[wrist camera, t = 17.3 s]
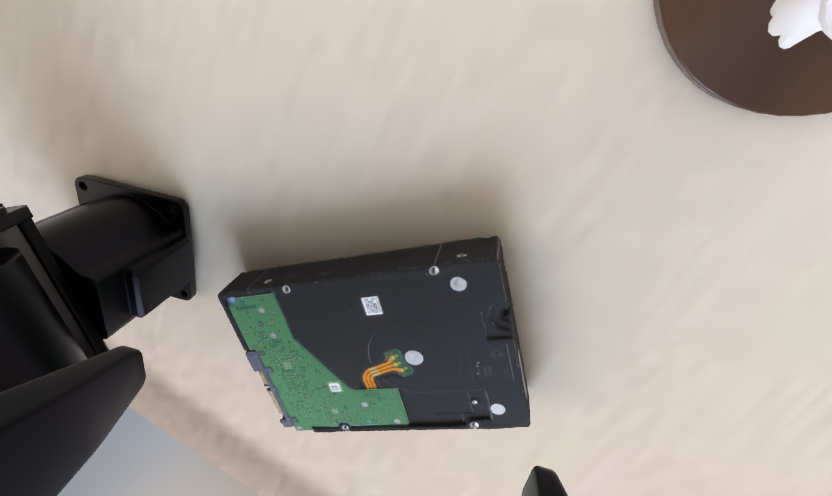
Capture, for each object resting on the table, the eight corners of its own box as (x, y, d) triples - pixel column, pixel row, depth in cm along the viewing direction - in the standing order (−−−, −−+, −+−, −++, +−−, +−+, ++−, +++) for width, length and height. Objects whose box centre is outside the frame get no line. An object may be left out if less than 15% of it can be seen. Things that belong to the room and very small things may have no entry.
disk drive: (499, 226, 21) (239, 269, 25) (498, 252, 18) (210, 296, 22) (531, 389, 25) (303, 404, 29) (534, 429, 22) (285, 439, 26)
